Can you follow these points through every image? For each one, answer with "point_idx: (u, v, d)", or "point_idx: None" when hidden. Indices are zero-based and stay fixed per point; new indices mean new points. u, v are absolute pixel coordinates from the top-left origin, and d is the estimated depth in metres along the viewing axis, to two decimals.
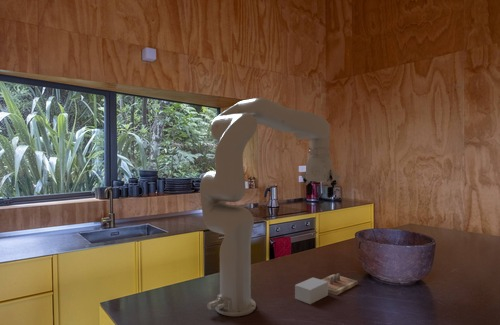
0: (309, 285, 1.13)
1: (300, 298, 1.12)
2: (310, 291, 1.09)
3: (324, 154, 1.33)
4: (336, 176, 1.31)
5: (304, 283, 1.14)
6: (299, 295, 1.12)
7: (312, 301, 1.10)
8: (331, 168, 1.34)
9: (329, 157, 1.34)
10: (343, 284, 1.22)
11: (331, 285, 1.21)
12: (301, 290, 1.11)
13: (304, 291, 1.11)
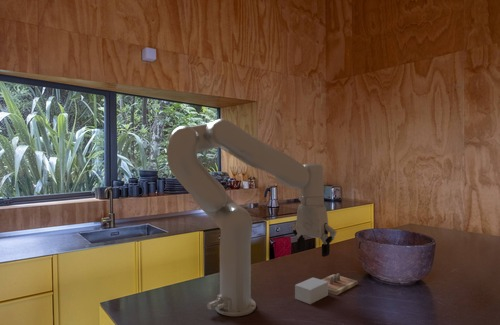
0: (309, 285, 1.13)
1: (300, 298, 1.12)
2: (310, 291, 1.09)
3: (317, 204, 1.10)
4: (332, 232, 1.08)
5: (304, 283, 1.14)
6: (299, 295, 1.12)
7: (312, 301, 1.10)
8: (326, 221, 1.11)
9: (323, 208, 1.11)
10: (343, 284, 1.22)
11: (331, 285, 1.21)
12: (301, 290, 1.11)
13: (304, 291, 1.11)
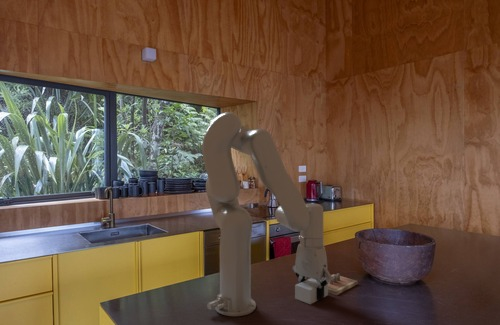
0: (309, 285, 1.13)
1: (300, 298, 1.12)
2: (310, 291, 1.09)
3: (317, 246, 1.11)
4: (328, 278, 1.09)
5: (304, 283, 1.14)
6: (300, 295, 1.12)
7: (312, 301, 1.10)
8: (325, 262, 1.11)
9: (323, 249, 1.11)
10: (343, 284, 1.22)
11: (331, 285, 1.21)
12: (301, 290, 1.11)
13: (304, 291, 1.11)
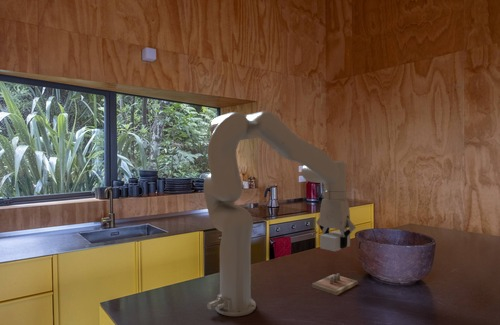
0: (333, 235, 1.23)
1: (325, 247, 1.21)
2: (335, 239, 1.19)
3: (340, 198, 1.20)
4: (352, 227, 1.18)
5: (328, 234, 1.24)
6: (325, 244, 1.21)
7: (337, 249, 1.19)
8: (348, 214, 1.21)
9: (346, 202, 1.20)
10: (343, 284, 1.22)
11: (331, 285, 1.21)
12: (326, 239, 1.21)
13: (329, 240, 1.20)
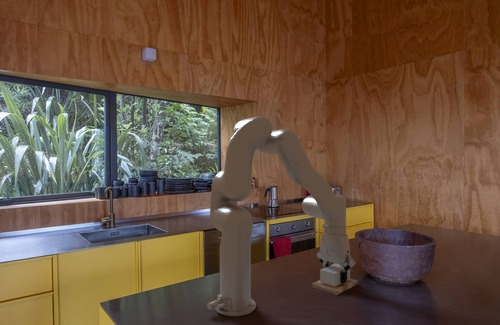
0: (333, 269, 1.23)
1: (325, 281, 1.22)
2: (335, 275, 1.19)
3: (340, 233, 1.20)
4: (352, 262, 1.19)
5: (329, 268, 1.24)
6: (325, 279, 1.22)
7: (337, 284, 1.20)
8: (348, 248, 1.21)
9: (346, 236, 1.21)
10: (343, 284, 1.22)
11: None
12: (326, 274, 1.21)
13: (329, 275, 1.20)
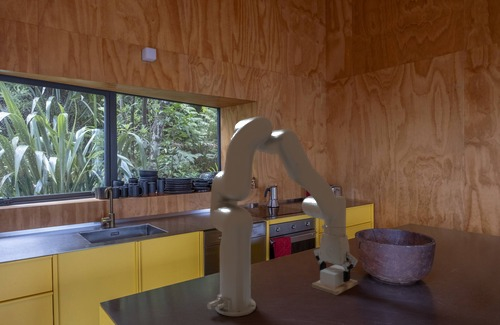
0: (333, 270, 1.23)
1: (325, 283, 1.22)
2: (335, 276, 1.19)
3: (340, 234, 1.20)
4: (353, 260, 1.18)
5: (328, 269, 1.24)
6: (324, 280, 1.22)
7: (336, 285, 1.20)
8: (348, 249, 1.21)
9: (345, 237, 1.21)
10: (343, 284, 1.22)
11: None
12: (326, 275, 1.21)
13: (329, 276, 1.20)
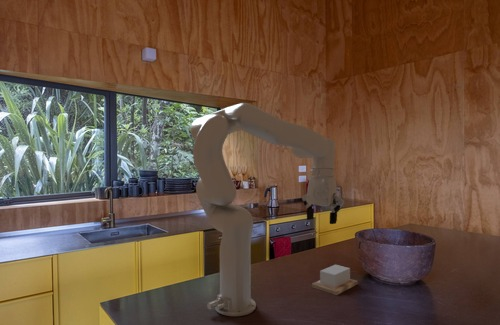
0: (333, 270, 1.23)
1: (325, 283, 1.22)
2: (335, 276, 1.19)
3: (328, 175, 1.20)
4: (340, 201, 1.17)
5: (328, 269, 1.24)
6: (324, 280, 1.22)
7: (336, 285, 1.20)
8: (335, 191, 1.20)
9: (333, 179, 1.20)
10: (343, 284, 1.22)
11: None
12: (326, 275, 1.21)
13: (329, 276, 1.20)
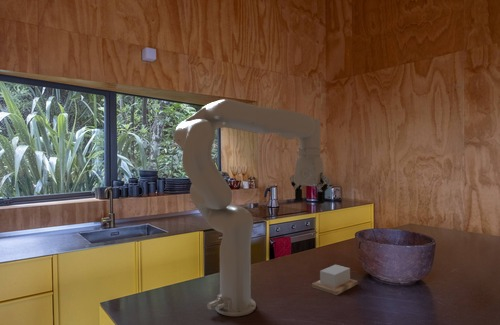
0: (333, 270, 1.23)
1: (325, 283, 1.22)
2: (335, 276, 1.19)
3: (314, 155, 1.19)
4: (327, 180, 1.17)
5: (328, 269, 1.24)
6: (324, 280, 1.22)
7: (336, 285, 1.20)
8: (322, 171, 1.20)
9: (320, 158, 1.19)
10: (343, 284, 1.22)
11: None
12: (326, 275, 1.21)
13: (329, 276, 1.20)
